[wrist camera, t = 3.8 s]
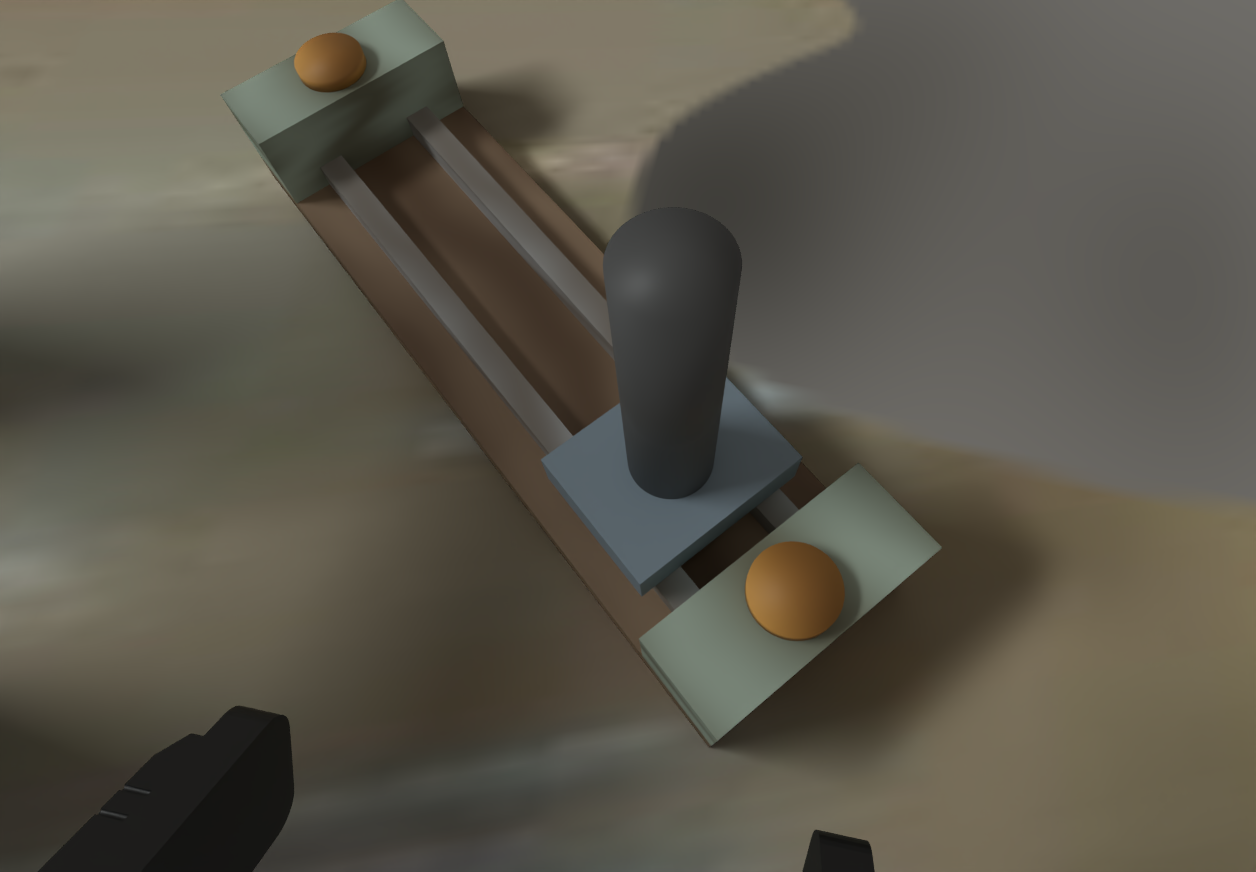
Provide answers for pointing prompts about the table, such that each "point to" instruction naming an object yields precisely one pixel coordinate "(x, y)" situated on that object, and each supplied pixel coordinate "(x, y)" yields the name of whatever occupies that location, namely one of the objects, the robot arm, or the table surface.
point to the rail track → (549, 357)
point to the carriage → (670, 404)
